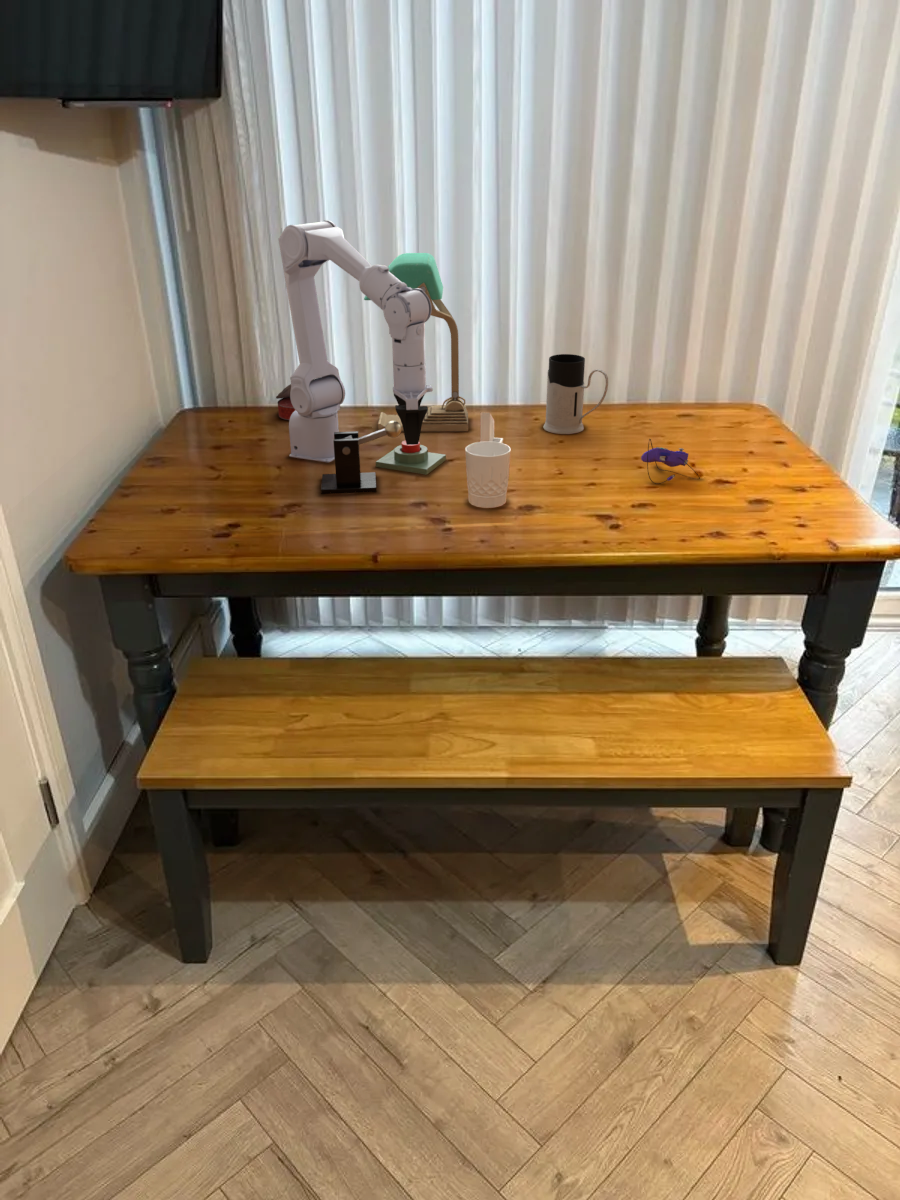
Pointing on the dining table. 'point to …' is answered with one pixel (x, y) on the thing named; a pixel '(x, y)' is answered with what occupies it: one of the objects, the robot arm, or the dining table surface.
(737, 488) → the dining table surface
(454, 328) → the banker's lamp
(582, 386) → the glass holder
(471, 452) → the white cup
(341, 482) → the switch bracket
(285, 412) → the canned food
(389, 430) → the lever
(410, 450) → the button
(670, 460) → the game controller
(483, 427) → the white wedge bracket
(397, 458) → the switch box
